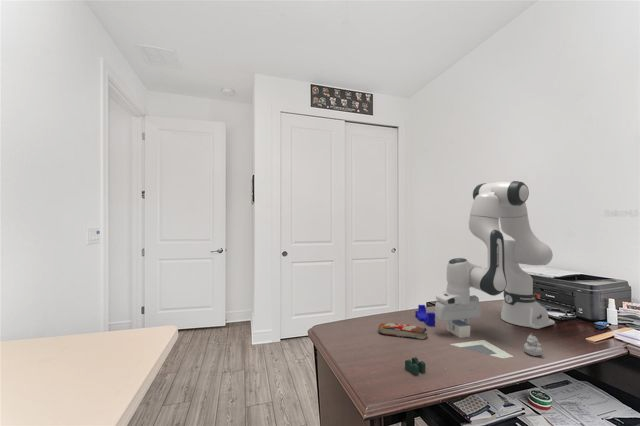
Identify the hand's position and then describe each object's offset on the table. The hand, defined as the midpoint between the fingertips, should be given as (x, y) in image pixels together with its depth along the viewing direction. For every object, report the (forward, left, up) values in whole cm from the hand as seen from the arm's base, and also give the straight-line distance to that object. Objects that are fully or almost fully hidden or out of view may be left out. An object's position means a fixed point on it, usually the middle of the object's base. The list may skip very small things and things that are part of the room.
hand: (458, 328), depth 116 cm
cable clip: (+6, -15, -2) cm, 16 cm away
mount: (+35, +23, -2) cm, 42 cm away
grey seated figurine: (-14, +21, -2) cm, 26 cm away
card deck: (0, 0, -2) cm, 2 cm away
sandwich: (+24, -3, -2) cm, 25 cm away
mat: (+4, +15, -2) cm, 16 cm away
